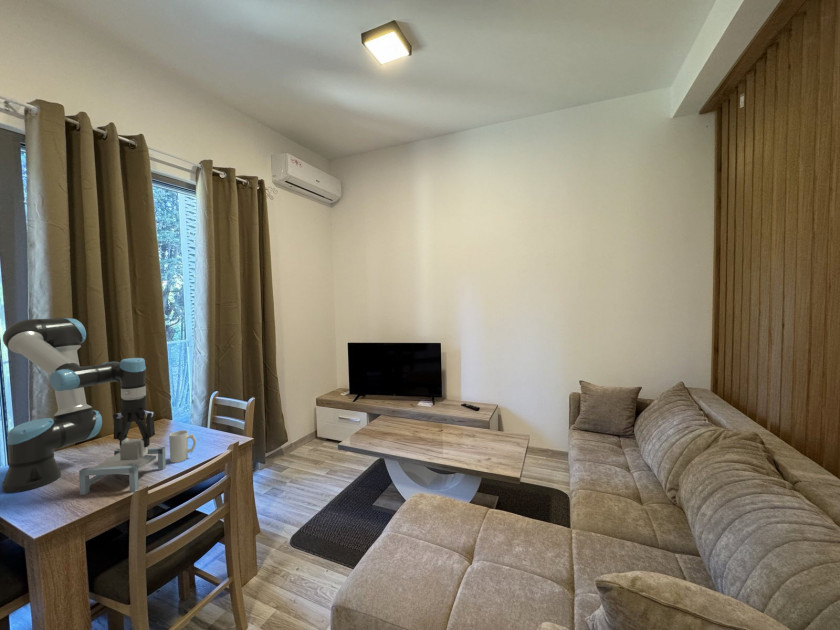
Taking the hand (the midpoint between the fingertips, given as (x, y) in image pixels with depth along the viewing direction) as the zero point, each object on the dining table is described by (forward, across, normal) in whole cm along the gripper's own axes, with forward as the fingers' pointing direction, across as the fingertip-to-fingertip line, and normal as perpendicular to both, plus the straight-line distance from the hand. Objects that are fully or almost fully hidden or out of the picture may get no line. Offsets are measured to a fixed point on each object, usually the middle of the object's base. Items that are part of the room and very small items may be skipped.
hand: (135, 455), depth 133 cm
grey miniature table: (+10, -3, 0) cm, 10 cm away
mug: (+10, +9, +17) cm, 21 cm away
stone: (0, 0, 0) cm, 1 cm away
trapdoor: (+3, -4, 0) cm, 5 cm away
